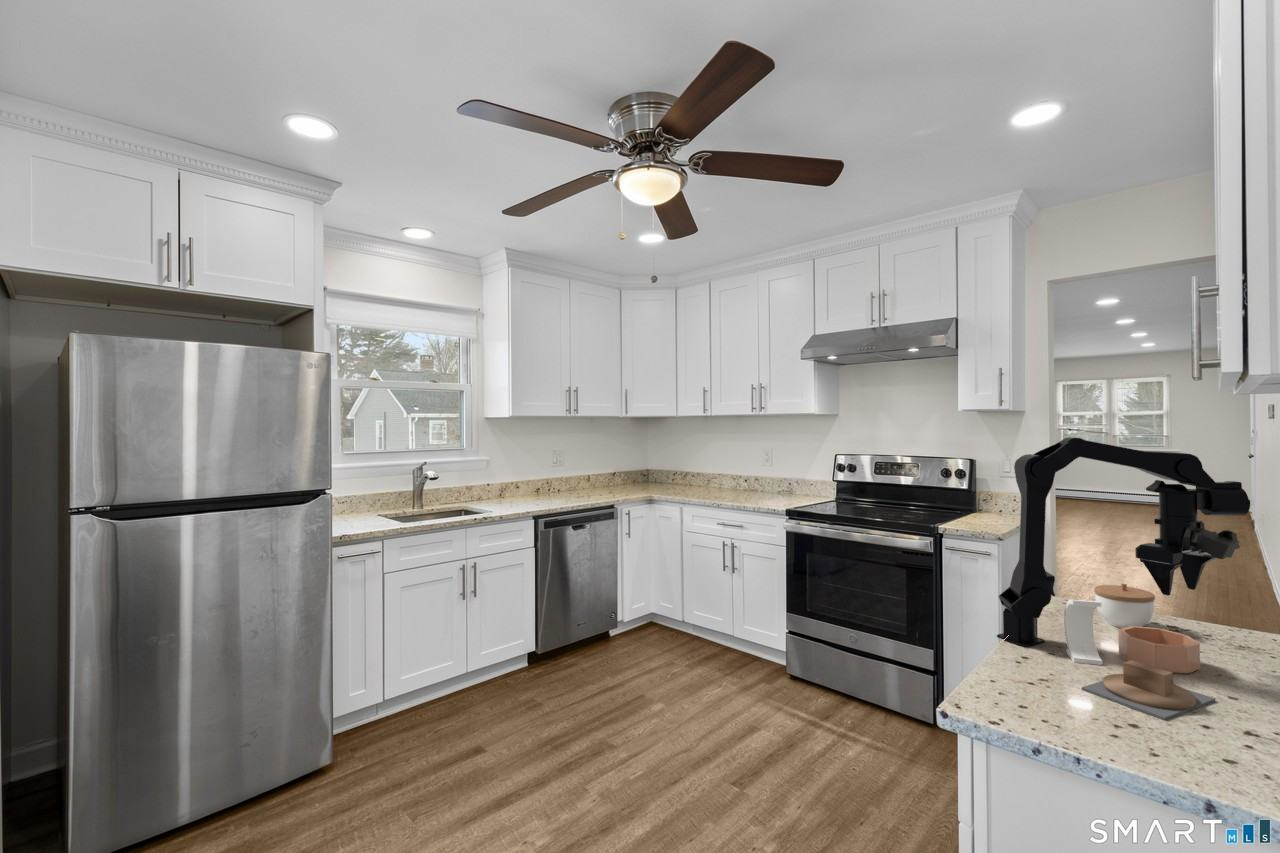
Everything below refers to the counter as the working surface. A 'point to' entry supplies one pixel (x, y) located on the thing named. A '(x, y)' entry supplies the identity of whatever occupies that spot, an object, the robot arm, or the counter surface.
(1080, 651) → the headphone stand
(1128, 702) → the mat
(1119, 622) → the lidded jar
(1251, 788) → the counter surface
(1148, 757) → the counter surface
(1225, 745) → the counter surface
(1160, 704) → the lid
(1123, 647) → the bowl
